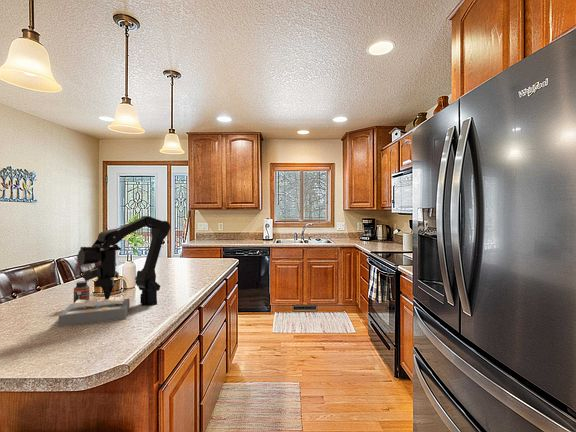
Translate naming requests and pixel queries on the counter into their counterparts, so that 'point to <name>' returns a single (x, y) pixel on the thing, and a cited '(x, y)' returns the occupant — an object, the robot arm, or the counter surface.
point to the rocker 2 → (114, 300)
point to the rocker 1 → (85, 303)
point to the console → (94, 313)
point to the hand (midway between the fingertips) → (107, 299)
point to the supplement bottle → (81, 291)
